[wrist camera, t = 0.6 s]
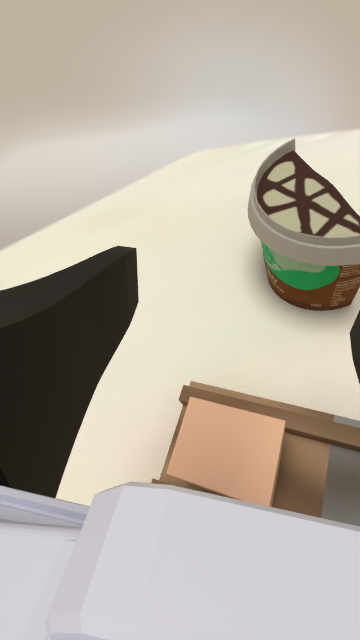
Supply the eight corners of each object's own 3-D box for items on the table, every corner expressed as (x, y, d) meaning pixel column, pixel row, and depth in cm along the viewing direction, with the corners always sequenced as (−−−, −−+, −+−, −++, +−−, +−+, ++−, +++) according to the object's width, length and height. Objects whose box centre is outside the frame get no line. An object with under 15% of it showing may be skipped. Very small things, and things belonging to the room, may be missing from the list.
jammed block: (270, 512, 22) (268, 509, 18) (185, 482, 25) (166, 473, 20) (284, 438, 24) (285, 420, 20) (204, 416, 27) (190, 396, 22)
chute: (543, 668, 17) (579, 688, 15) (153, 512, 25) (142, 511, 23) (522, 464, 22) (548, 457, 19) (193, 385, 29) (186, 374, 27)
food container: (233, 250, 36) (219, 167, 27) (288, 226, 36) (291, 134, 27) (293, 346, 29) (298, 274, 21) (361, 317, 29) (394, 233, 21)
